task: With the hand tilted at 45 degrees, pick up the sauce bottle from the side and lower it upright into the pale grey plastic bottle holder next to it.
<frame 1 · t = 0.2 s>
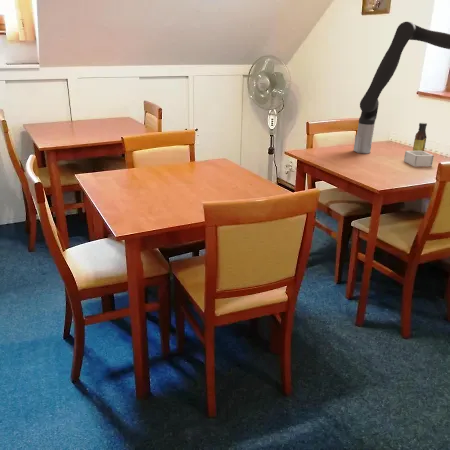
sauce bottle: (417, 157, 271), on the table
bottle holder: (417, 163, 257), on the table
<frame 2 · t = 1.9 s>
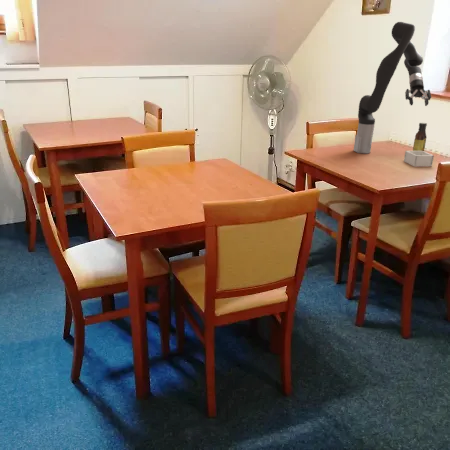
hand: (419, 104, 271), 29 cm above the table, tool tilted 45°, fingers open, 8 cm apart
nothing on the table moved.
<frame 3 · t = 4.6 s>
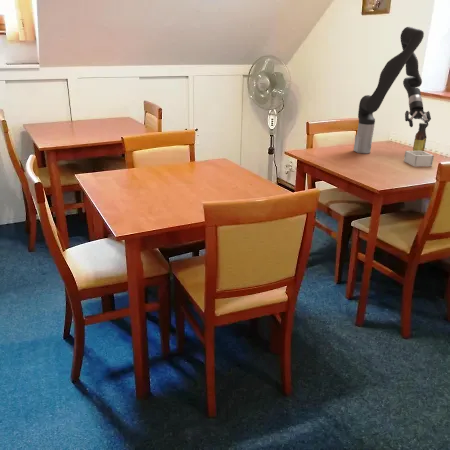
hand: (419, 126, 270), 17 cm above the table, tool tilted 45°, fingers open, 8 cm apart
nothing on the table moved.
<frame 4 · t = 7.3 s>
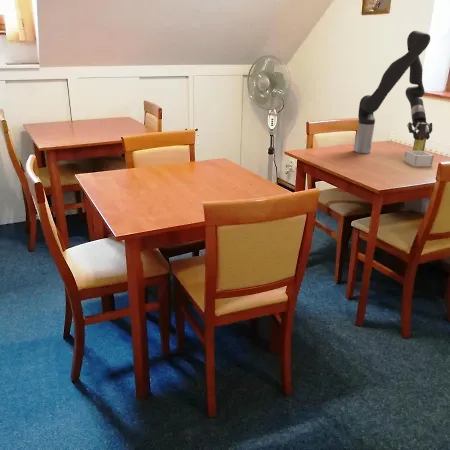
hand: (421, 138, 265), 11 cm above the table, tool tilted 45°, fingers closed on sauce bottle, 6 cm apart
sauce bottle: (417, 157, 271), on the table, touching gripper
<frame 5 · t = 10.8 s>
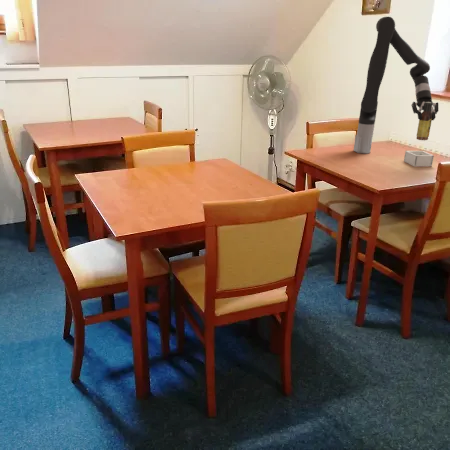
hand: (427, 119, 246), 25 cm above the table, tool tilted 45°, fingers closed on sauce bottle, 6 cm apart
sauce bottle: (421, 139, 252), point 13 cm above the table, touching gripper
when the fingers open (13 cm above the table, at t = 14.4 s): sauce bottle stays where it is, resting on bottle holder.
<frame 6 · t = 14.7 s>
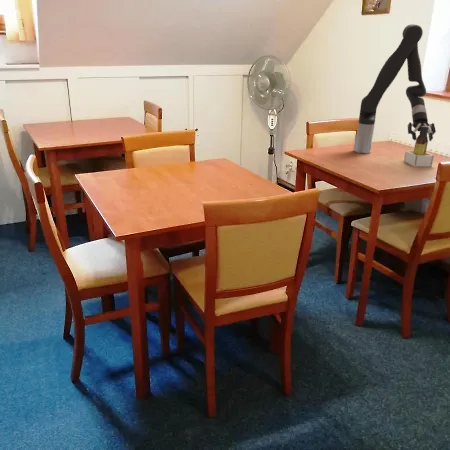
hand: (423, 139, 250), 14 cm above the table, tool tilted 45°, fingers open, 8 cm apart
sauce bottle: (417, 162, 257), point 1 cm above the table, touching bottle holder
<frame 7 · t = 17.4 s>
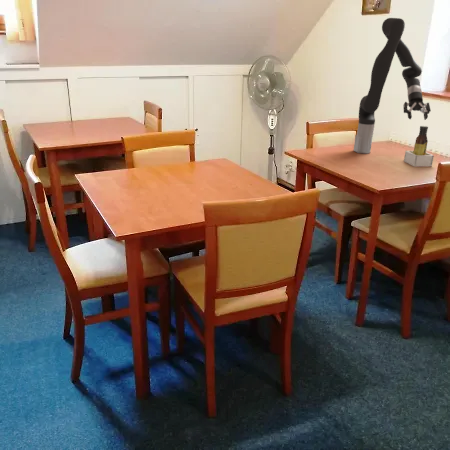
hand: (418, 118, 258), 23 cm above the table, tool tilted 45°, fingers open, 8 cm apart
nothing on the table moved.
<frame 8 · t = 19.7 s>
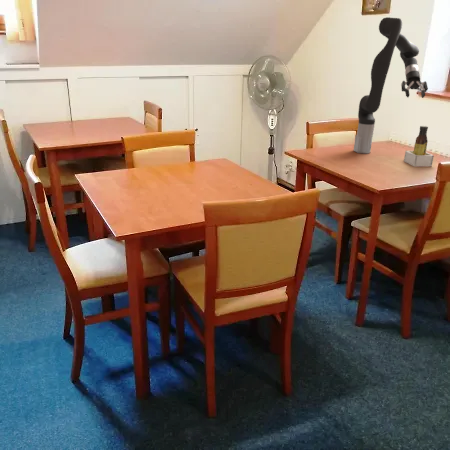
hand: (415, 96, 265), 34 cm above the table, tool tilted 45°, fingers open, 8 cm apart
nothing on the table moved.
at the end: sauce bottle 0.1 cm off-centre on the bottle holder, point 0.6 cm above the bottle holder's base; sauce bottle tilted 0°; the gripper is holding nothing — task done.
